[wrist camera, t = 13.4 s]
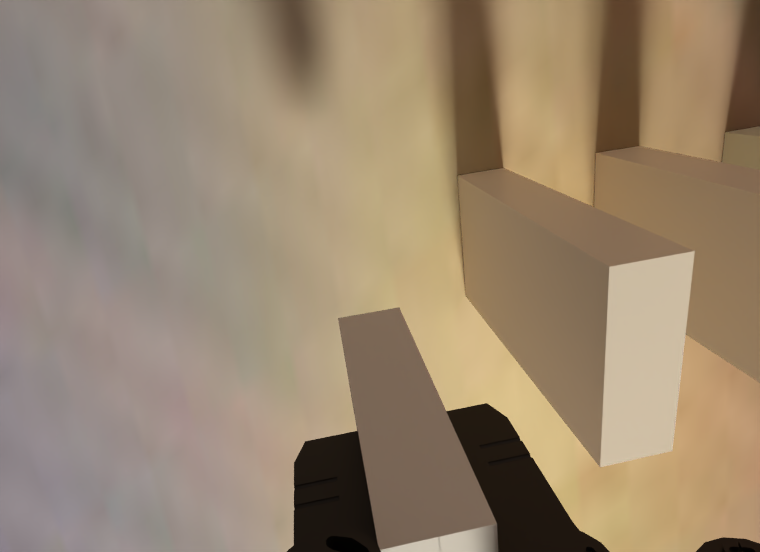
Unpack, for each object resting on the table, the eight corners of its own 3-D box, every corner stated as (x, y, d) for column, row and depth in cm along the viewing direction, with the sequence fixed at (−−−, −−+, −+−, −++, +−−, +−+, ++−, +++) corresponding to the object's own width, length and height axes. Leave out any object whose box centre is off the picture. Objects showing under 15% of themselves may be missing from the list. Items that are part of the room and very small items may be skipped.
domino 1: (465, 296, 21) (599, 466, 12) (457, 175, 19) (609, 266, 10) (507, 288, 21) (672, 450, 12) (503, 168, 19) (694, 250, 10)
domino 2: (591, 272, 22) (814, 418, 12) (595, 153, 20) (861, 219, 10) (631, 265, 22) (880, 403, 13) (639, 145, 20) (938, 205, 11)
